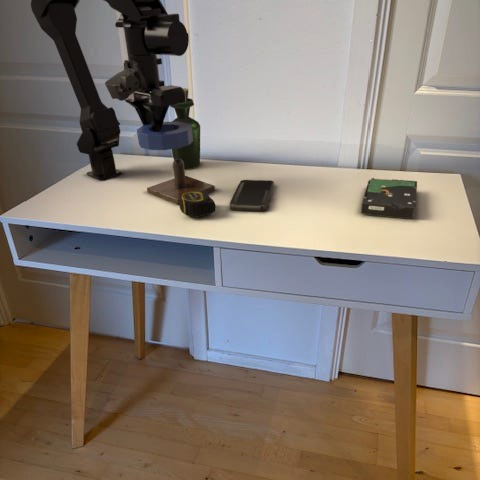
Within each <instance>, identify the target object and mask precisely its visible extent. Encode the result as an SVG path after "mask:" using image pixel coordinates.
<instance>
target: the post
mask: <svg viewBox="0 0 480 480" xmlns="http://www.w3.org/2000/svg"><path fill="white" fill-rule="evenodd" d="M172 168H173V177H174V178H171V179H168V180H165V181H163V182H160V183H156V184H154V185H151V186H147V187H146V192H147V194H150V195H152V196H155V197H157V198H159V199H162V200H165V201H167V202H170V203H173V204H175V205H177V206H179V200H180V197H181V196H182V195H183V194H185V193H188V192H200V191H206V192H207V194H210V193H213V192H215V191H216V185H214V184H211V183H209V182H205V181H202V180H199V179H197V178H195V177H191V176H187V175H186V171H185V170H186V169H184V162H183V161H182V160H181V159H175V160H174V159H173V162H172Z"/></svg>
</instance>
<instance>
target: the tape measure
mask: <svg viewBox="0 0 480 480" xmlns="http://www.w3.org/2000/svg"><path fill="white" fill-rule="evenodd" d="M178 206H179V210H180V211H181V213H182V214H183V215H185V216H187V217H193V218H194V217H195V218H199V217H203V216H206V215H209V214H213V213H215V212H216V210H217V205H216V202H215V201H214V199H213V198H211V197H210V195H209V193H207V192H206V191H200V192H188V193H185V194H183V195H182V196H181V197H180V200H179V205H178Z"/></svg>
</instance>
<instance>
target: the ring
mask: <svg viewBox="0 0 480 480" xmlns="http://www.w3.org/2000/svg"><path fill="white" fill-rule="evenodd" d="M136 134H137V135H136V136H137V140H138V145H139V147H140V148H141V149H145V150H149V151H169V150H172V149H177V148H181V147H184V146H187V145H189V144H191V143H192V142H193V135H192V127H191V126H190V124H188V123H183V122H172V121H164V122H163V125H162V128H161V131H160V132H153V129H152V125H151V124H148V125H144V126H143V125H141V126H140V127H138V128H137V129H136Z"/></svg>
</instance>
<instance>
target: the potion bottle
mask: <svg viewBox="0 0 480 480" xmlns="http://www.w3.org/2000/svg"><path fill="white" fill-rule="evenodd" d="M182 88H183V90H184V91H185V96H186V102H182V103H178V104H174V105H170V106H169V108H173V109H174V111H175V114H176V118H175V119H172V121H171V122H183V123H188V124H190V126H191V127H192V135H193V142H192V143H191V144H189V145H187V146H184V147H181V148H177V149H171V153H172V158H173V161H174V160H175V159H181V160H182V161H183V162H184V170H192V169H196V168H198V167H199V166H200V165H201V124H200V123H199V121H197V120H196V119H194V118H192V117H191V116H190V111H191V108H192V107H194V106H195V103H194V100H193V99H192V98H190V97H189V90H190V89H189V88H185V87H182Z"/></svg>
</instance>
